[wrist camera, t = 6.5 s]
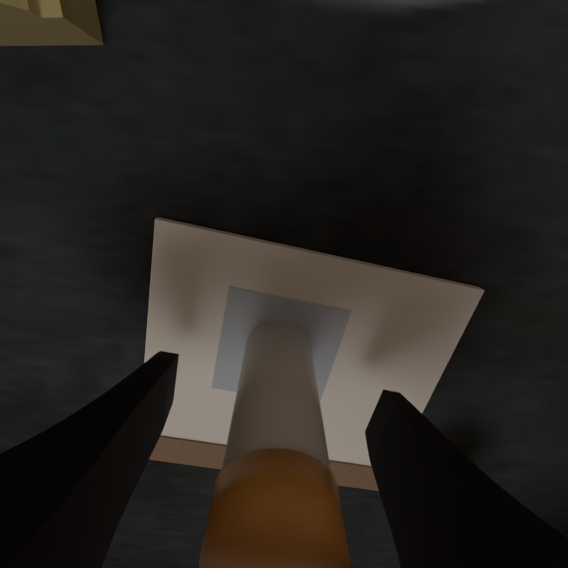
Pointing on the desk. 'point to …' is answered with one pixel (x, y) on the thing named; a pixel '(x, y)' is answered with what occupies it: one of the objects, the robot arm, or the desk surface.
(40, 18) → the figurine on pedestal
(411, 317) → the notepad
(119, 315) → the desk surface
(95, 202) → the desk surface
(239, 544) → the orange cap marker
